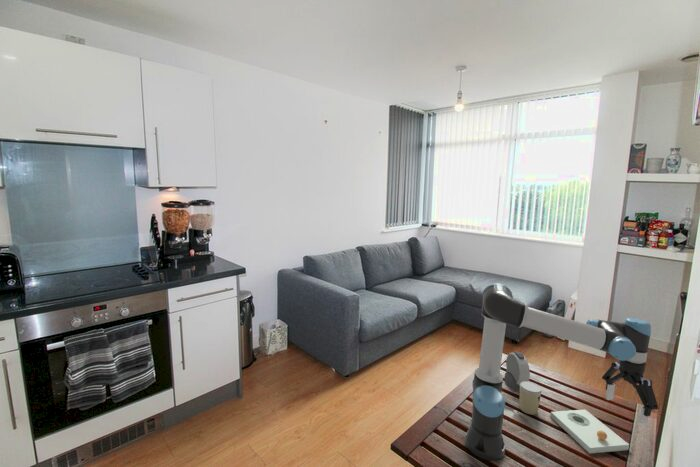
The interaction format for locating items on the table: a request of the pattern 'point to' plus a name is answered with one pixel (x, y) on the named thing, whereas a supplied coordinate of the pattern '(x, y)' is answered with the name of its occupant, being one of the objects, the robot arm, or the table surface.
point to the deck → (588, 431)
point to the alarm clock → (516, 370)
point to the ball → (602, 435)
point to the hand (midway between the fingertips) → (625, 410)
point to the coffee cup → (529, 397)
